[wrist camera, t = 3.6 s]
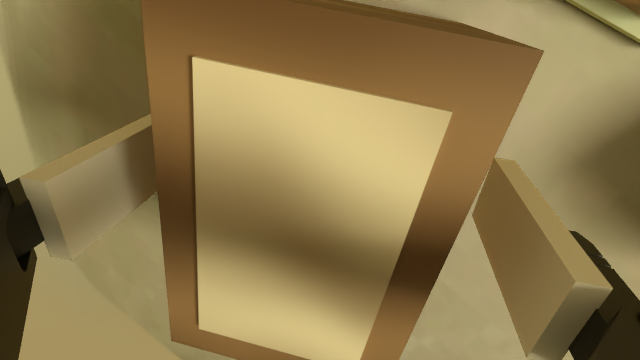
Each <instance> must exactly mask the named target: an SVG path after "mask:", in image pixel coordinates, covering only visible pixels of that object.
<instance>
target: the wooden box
mask: <svg viewBox="0 0 640 360" xmlns="http://www.w3.org/2000/svg"><path fill="white" fill-rule="evenodd" d="M141 11H142V22H143V33H144V44H145V55H146V66H147V77H148V88H149V99H150V110H151V121H152V132H153V143H154V154H155V165H156V177H157V188H158V199H159V210H160V221H161V232H162V243H163V254H164V265H165V276H166V287H167V298H168V309H169V320H170V331H171V341H174V342H177V343H181V344H185V345H188V346H192V347H195V348H199V349H202V350H206V351H210V352H213V353H217V354H220V355H224V356H227V357H231V358H235V359H238V360H399V358H400V356H401V354H402V352H403V350H404V348H405V346H406V343H407V341H408V339H409V337H410V335H411V333H412V331H413V329H414V326H415V324H416V322H417V320H418V318H419V316H420V314H421V312H422V309H423V307H424V305H425V303H426V301H427V299H428V297H429V295H430V292H431V290H432V288H433V286H434V284H435V282H436V280H437V278H438V275H439V273H440V271H441V269H442V267H443V265H444V263H445V261H446V258H447V256H448V254H449V252H450V250H451V248H452V246H453V244H454V241H455V239H456V237H457V235H458V233H459V231H460V229H461V227H462V224H463V222H464V220H465V218H466V216H467V214H468V212H469V210H470V208H471V205H472V203H473V201H474V199H475V197H476V195H477V193H478V191H479V188H480V186H481V184H482V182H483V180H484V178H485V176H486V174H487V171H488V169H489V167H490V165H491V163H492V161H493V159H494V157H495V154H496V152H497V150H498V148H499V146H500V144H501V142H502V140H503V137H504V135H505V133H506V131H507V129H508V127H509V125H510V123H511V120H512V118H513V116H514V114H515V112H516V110H517V108H518V106H519V103H520V101H521V99H522V97H523V95H524V93H525V91H526V89H527V86H528V84H529V82H530V80H531V78H532V76H533V74H534V72H535V70H536V67H537V65H538V63H539V61H540V59H541V57H542V55H543V53H544V51H543V50H540V49H537V48H534V47H531V46H528V45H525V44H522V43H519V42H516V41H513V40H510V39H507V38H504V37H501V36H498V35H495V34H493V33H490V32H487V31H484V30H481V29H478V28H475V27H472V26H469V25H466V24H463V23H458V22H453V21H448V20H443V19H437V18H432V17H427V16H422V15H417V14H411V13H406V12H401V11H396V10H391V9H385V8H380V7H375V6H370V5H365V4H359V3H354V2H349V1H344V0H141Z"/></svg>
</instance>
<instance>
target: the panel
mask: <svg viewBox="0 0 640 360" xmlns="http://www.w3.org/2000/svg"><path fill="white" fill-rule="evenodd" d="M565 1H567V2H569V3H570V4H572V5H574V6H576V7H577V8H579V9H581V10H583V11H584V12H586V13H588V14H589V15H591V16H593V17H595V18H596V19H598V20H600V21H602V22H603V23H605V24H607V25H609V26H610V27H612V28H614V29H616V30H617V31H619V32H621V33H623V34H624V35H626V36H628V37H629V38H631V39H633V40H635V41H636V42H638V43H640V0H565Z"/></svg>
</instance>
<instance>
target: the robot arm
mask: <svg viewBox="0 0 640 360" xmlns="http://www.w3.org/2000/svg"><path fill="white" fill-rule="evenodd" d="M157 190H158V188H157V177H156V165H155V154H154V143H153V132H152V121H151V114H149V115H147V116H145V117H142V118H140V119H138V120H136V121H134V122H132V123H130V124H128V125H126V126H124V127H122V128H120V129H118V130H116V131H114V132H112V133H110V134H107V135H105V136H103V137H101V138H99V139H97V140H95V141H93V142H91V143H89V144H87V145H85V146H83V147H81V148H79V149H77V150H75V151H72V152H70V153H68V154H66V155H64V156H62V157H60V158H58V159H56V160H54V161H52V162H50V163H48V164H46V165H44V166H42V167H39V168H37V169H35V170H33V171H32V172H29V173H27V174H25V175H23V176H21V177H19V178H18V179H16V180H14V181H12V182H10V183H7V184H6V182H5V179H4V177H3V175H2V172H1V170H0V360H18V357H19V352H20V347H21V342H22V336H23V331H24V325H25V320H26V314H27V309H28V304H29V299H30V293H31V288H32V282H33V277H34V272H35V266H36V261H37V257H36V253H35V250H34V247H35V246H37V245H38V244H40V243H41V242H43V241H44V242H45V244H46V247H47V249H48V252H49V255H50V256H52V257H57V258H61V259H66V260H71V261H73V260H74V259H76V258H77V257H78V256H79V255H80V254H82V253H83V252H84V251H85V250H86V249H88V248H89V247H90V246H91V245H92V244H94V243H95V242H96V241H97V240H98V239H100V238H101V237H102V236H103V235H104V234H106V233H107V232H108V231H109V230H110V229H112V228H113V227H114V226H115V225H116V224H118V223H119V222H120V221H121V220H122V219H124V218H125V217H126V216H127V215H128V214H130V213H131V212H132V211H133V210H134V209H136V208H137V207H138V206H139V205H140V204H142V203H143V202H144V201H145V200H147V199H148V198H149V197H150V196H151V195H153V194H154V193H155V192H156V191H157ZM472 216H473V219H474V222H475V224H476V227H477V230H478V232H479V235H480V237H481V240H482V243H483V245H484V248H485V250H486V253H487V256H488V258H489V261H490V264H491V266H492V269H493V271H494V274H495V277H496V279H497V282H498V284H499V287H500V290H501V292H502V295H503V298H504V300H505V303H506V305H507V308H508V311H509V313H510V316H511V318H512V321H513V324H514V326H515V329H516V332H517V334H518V337H519V339H520V342H521V345H522V347H523V350H524V352H525V355H526V358H529V359H533V360H562V358H563V357H564V356H565V354H566V353H567V352H568V350H569V351H570V353H571V354H572V356H573V358H574V360H640V300H639V299H638V298H637V297H636V296H635V294H634V293H633V292H632V291H631V290H630V288H629V287H628V286H627V285H626V284H625V282H624V281H623V280H622V279H621V278H620V276H619V275H618V274H617V273H616V271H615V270H614V269H611V265H610V264H609V263H608V262H607V261H606V259H605V258H602V257H603V256H602V255H601V253H600V252H599V251H598V250H597V249H596V247H595V246H594V245H593V244H592V243H591V242H590V241H588V240H587V239H586V238H584V237H583V236H581V235H580V234H579V233H577V232H575V231H569V230H568V229H567V228H566V227H565V225H564V224H563V223H562V222H561V220H560V219H559V218H558V216H557V215H556V214H555V212H554V211H553V210H552V209H551V207H550V206H549V205H548V203H547V202H546V201H545V199H544V198H543V197H542V196H541V194H540V193H539V192H538V190H537V189H536V188H535V187H534V185H533V184H532V183H531V181H530V180H529V179H528V177H527V176H526V175H525V174H524V172H523V171H522V170H521V168H520V167H519V166H518V164H517V163H516V162H515V161H514V160H507V159H501V158H494V159H493V162H492V164H491V167H490V169H489V172H488V175H487V177H486V180H485V182H484V185H483V188H482V190H481V193H480V196H479V198H478V201H477V203H476V206H475V209H474V211H473V214H472Z"/></svg>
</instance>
